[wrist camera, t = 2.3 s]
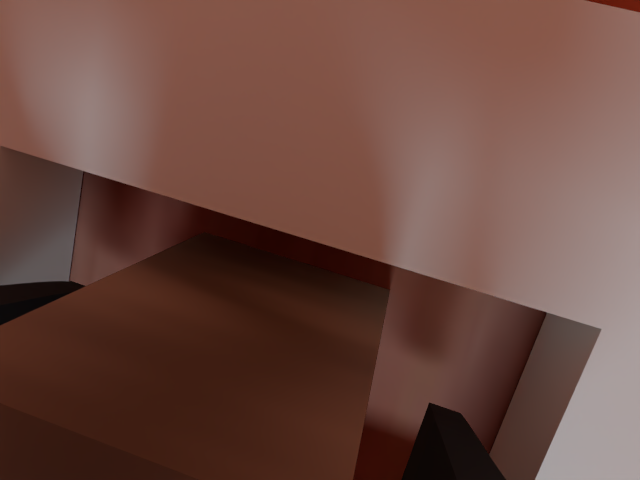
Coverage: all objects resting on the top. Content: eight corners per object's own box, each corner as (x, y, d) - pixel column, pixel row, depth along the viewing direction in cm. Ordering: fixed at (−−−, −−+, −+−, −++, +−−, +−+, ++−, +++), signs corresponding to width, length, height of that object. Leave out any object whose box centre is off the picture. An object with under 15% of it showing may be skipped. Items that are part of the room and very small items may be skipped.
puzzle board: (-65, 485, 15) (-157, 552, 13) (-26, -98, 11) (-153, -163, 9) (530, 733, 13) (555, 873, 10) (858, 108, 9) (1027, 97, 6)
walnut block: (171, 395, 13) (-107, 689, 6) (205, 231, 12) (-92, 367, 5) (337, 456, 12) (235, 854, 5) (390, 289, 11) (343, 535, 4)
